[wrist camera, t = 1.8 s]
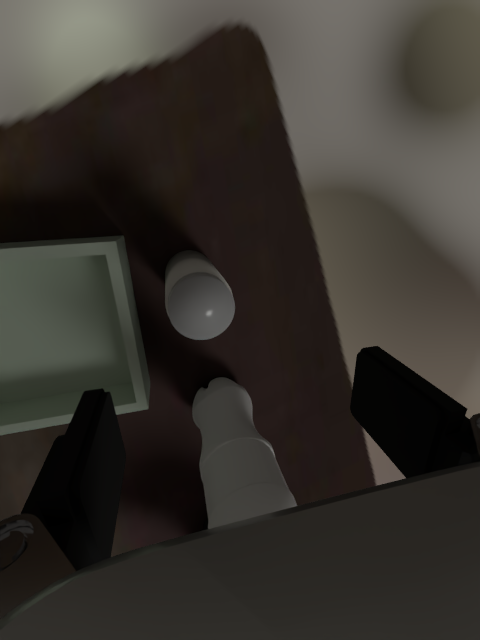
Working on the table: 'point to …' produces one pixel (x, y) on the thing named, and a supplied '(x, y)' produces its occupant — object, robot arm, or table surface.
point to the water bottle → (235, 457)
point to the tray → (67, 330)
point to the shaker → (197, 296)
